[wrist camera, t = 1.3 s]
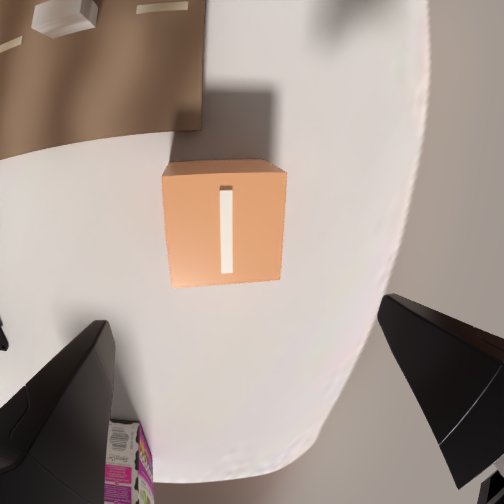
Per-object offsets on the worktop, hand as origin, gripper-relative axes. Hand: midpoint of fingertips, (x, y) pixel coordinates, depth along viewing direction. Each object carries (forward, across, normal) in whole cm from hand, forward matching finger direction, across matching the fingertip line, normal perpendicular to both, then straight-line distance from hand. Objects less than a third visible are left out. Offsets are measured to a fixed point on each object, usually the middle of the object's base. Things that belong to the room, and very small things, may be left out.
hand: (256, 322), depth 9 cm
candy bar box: (+12, +13, +29) cm, 34 cm away
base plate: (+12, +9, -13) cm, 20 cm away
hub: (+12, 0, 0) cm, 12 cm away
